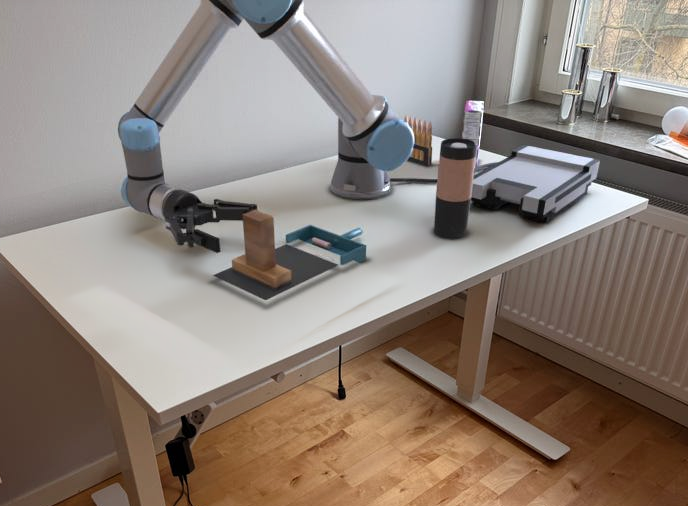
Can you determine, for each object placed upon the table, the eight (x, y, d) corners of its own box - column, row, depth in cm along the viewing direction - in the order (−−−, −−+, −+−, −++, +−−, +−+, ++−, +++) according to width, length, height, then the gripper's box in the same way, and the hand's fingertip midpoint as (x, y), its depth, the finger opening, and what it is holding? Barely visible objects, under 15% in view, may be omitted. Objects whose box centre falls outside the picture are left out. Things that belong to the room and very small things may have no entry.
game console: (459, 209, 169) (463, 175, 165) (518, 175, 191) (523, 144, 186) (540, 230, 159) (546, 195, 154) (593, 191, 180) (600, 160, 175)
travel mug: (425, 232, 157) (433, 143, 146) (445, 223, 162) (454, 135, 151) (454, 242, 153) (463, 150, 142) (473, 232, 158) (484, 142, 147)
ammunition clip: (399, 157, 203) (401, 115, 196) (403, 156, 204) (405, 114, 197) (427, 166, 196) (430, 122, 190) (431, 165, 197) (435, 121, 191)
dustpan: (342, 271, 141) (342, 256, 139) (286, 249, 150) (285, 234, 148) (389, 248, 151) (390, 233, 149) (334, 228, 159) (334, 214, 158)
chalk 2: (314, 253, 144) (314, 260, 145) (330, 260, 141) (330, 266, 142) (318, 252, 145) (318, 258, 146) (335, 258, 142) (335, 264, 143)
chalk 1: (316, 237, 152) (312, 236, 151) (332, 243, 149) (328, 242, 148) (314, 244, 152) (310, 242, 151) (330, 250, 150) (326, 248, 148)
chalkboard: (286, 250, 149) (286, 243, 149) (338, 271, 141) (338, 264, 140) (213, 282, 137) (212, 275, 136) (265, 307, 129) (265, 300, 128)
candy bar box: (460, 159, 202) (466, 99, 193) (477, 160, 201) (484, 100, 192) (458, 171, 193) (464, 110, 184) (476, 172, 192) (483, 111, 183)
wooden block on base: (249, 263, 140) (245, 204, 134) (291, 282, 134) (289, 220, 127) (232, 271, 138) (227, 210, 131) (274, 290, 131) (271, 227, 124)
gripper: (224, 208, 156) (292, 233, 144) (128, 242, 140) (196, 274, 128) (221, 174, 151) (291, 198, 140) (122, 206, 136) (191, 235, 124)
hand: (245, 234), depth 134 cm, fingers open, 13 cm apart
